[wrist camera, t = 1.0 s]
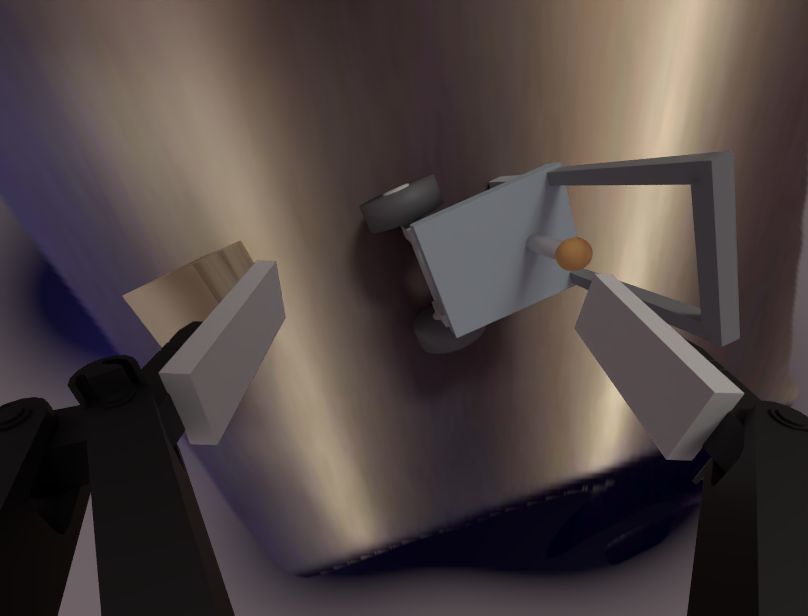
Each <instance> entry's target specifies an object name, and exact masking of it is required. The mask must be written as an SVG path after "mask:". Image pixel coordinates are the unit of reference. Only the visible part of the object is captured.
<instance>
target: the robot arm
mask: <svg viewBox="0 0 808 616" xmlns="http://www.w3.org/2000/svg"><path fill="white" fill-rule="evenodd" d="M284 319H285V311H284V305H283V299H282V294H281V288H280V282H279V276H278V270H277V264H276V261H256V262H255V263H254V265H253V266H252V267H251V268H250V269H249V270H248V271H247V273H246V274H245V275H244V276H243V277H242V278H241V279H240V281H239V282H238V283H237V284H236V285H235V286H234V287H233V289H232V290H231V291H230V292H229V293H228V294H227V295H226V297H225V298H224V299H223V300H222V301H221V302H220V303H219V304H218V306H217V307H216V308H215V309H214V310H213V311H212V312H211V314H210V315H209V316H208V317H207V318H206V319H205V320H204V321H193V322H191V323H190V324H188V325H186V326H185V327H183V328H181V329H180V330H178V332H177V333H176V334H175V335H174V336H173V337H172V338H171V339H170V340H169V342H167V343H166V344H165V345H164V346H163V347H162V348H161V351H159V352H158V353H157V354H156V355H155V356H154V357H153V358H152V359H151V360H150V361H149V362H148V363H147V364H146V365H145V366H144V367H143V368H142V369H141V368H140V366H139V364H138V362H137V361H136V360H135V359H134V357H130V356H127V355H116V356H110V357H106V358H102V359H99V360H97V361H94V362H92V363H89V364H87V365H86V366H84V367H83V368H81V369H79V370H78V371H77V372H76V373H75V374H74V375H73V376H72V377H71V378H70V380H69V383H68V387H69V388H70V390H71V391H72V393H73V394H74V396H75V397H76V399H77V401H78V402H79V403H80V405H78V406H73V407H68V408H63V409H57V410H53V409H52V407H51V406H50V405H49V403H48V402H47V401H46V400H45V399H43V398H37V397H32V398H24V399H19V400H16V401H13V402H10V403H7V404H4V405H2V406H1V407H0V616H58V612H59V608H60V605H61V601H62V597H63V593H64V590H65V586H66V582H67V578H68V575H69V571H70V567H71V564H72V560H73V556H74V552H75V549H76V545H77V541H78V537H79V534H80V530H81V526H82V522H83V518H84V515H85V511H86V508H87V504H88V500H89V496H90V493H91V498H92V510H93V522H94V534H95V544H96V557H97V569H98V581H99V592H100V604H101V616H235V615H234V612H233V609H232V606H231V603H230V600H229V597H228V594H227V591H226V588H225V585H224V582H223V578H222V576H221V572H220V570H219V566H218V564H217V560H216V557H215V554H214V551H213V548H212V545H211V542H210V539H209V536H208V533H207V530H206V527H205V524H204V521H203V518H202V515H201V512H200V509H199V506H198V503H197V500H196V497H195V494H194V491H193V488H192V485H191V482H190V479H189V476H188V473H187V470H186V467H185V464H184V461H183V458H182V455H181V452H180V449H179V447H178V445H177V442H178V440H179V439H180V437H181V436H182V434H183V433H184V431H185V433H186V435H187V437H188V440H189V442H190V444H201V445H218V443H219V441H220V439H221V437H222V435H223V433H224V432H225V430H226V428H227V426H228V424H229V422H230V420H231V419H232V417H233V415H234V413H235V411H236V409H237V407H238V405H239V404H240V402H241V400H242V398H243V396H244V394H245V392H246V390H247V389H248V387H249V385H250V383H251V381H252V379H253V377H254V375H255V374H256V372H257V370H258V368H259V366H260V364H261V362H262V360H263V359H264V357H265V355H266V353H267V351H268V349H269V347H270V346H271V344H272V342H273V340H274V338H275V336H276V334H277V332H278V331H279V329H280V327H281V325H282V323H283V321H284ZM575 330H576V331H577V333H578V334H579V335H580V337H581V338H582V340H583V341H584V343H585V344H586V345H587V347H588V348H589V350H590V351H591V353H592V354H593V355H594V357H595V358H596V360H597V361H598V363H599V364H600V365H601V367H602V368H603V370H604V371H605V373H606V374H607V375H608V377H609V378H610V380H611V381H612V383H613V384H614V385H615V387H616V388H617V390H618V391H619V393H620V394H621V395H622V397H623V398H624V400H625V401H626V403H627V404H628V405H629V407H630V408H631V410H632V411H633V413H634V414H635V415H636V417H637V418H638V420H639V421H640V423H641V424H642V425H643V427H644V428H645V430H646V431H647V433H648V434H649V435H650V437H651V438H652V440H653V441H654V443H655V444H656V445H657V447H658V448H659V450H660V451H661V453H662V454H663V455H664V457H665V458H666V460H693V458H694V457H695V456H696V455H697V453H698V452H699V451H700V450H701V448H702V447H704V449H705V450H706V451H707V452H708V453H709V455H710V456H711V457H712V458H711V459H710V460H709V461H708V462H707V464H706V465H705V466H704V467H703V468H702V470H701V471H700V472H699V473H698V474H697V476H696V477H695V478H694V480H693V482H694V483H695V484H698V482H699V481H700V480H704V481H703V489H702V497H701V505H700V514H699V522H698V530H697V538H696V546H695V554H694V563H693V571H692V579H691V587H690V595H689V603H688V611H687V612H688V613H687V616H808V417H807V416H806V415H804V414H802V413H801V412H799V411H797V410H795V409H793V408H791V407H788V406H786V405H783V404H780V403H776V402H771V401H761V400H760V399H759V398H758V397H757V396H756V395H755V394H753V393H752V392H751V391H750V390H749V389H748V388H747V387H745V386H744V385H743V384H742V383H741V382H740V381H739V380H738V379H736V378H735V377H734V376H733V375H732V374H731V373H730V372H728V371H727V370H724V367H723V366H722V365H720V364H719V363H718V362H717V361H714V358H712V357H711V356H710V355H709V354H708V353H707V352H706V351H705V350H703V349H702V348H701V347H699V346H697V345H696V344H694V343H692V342H690V341H689V340H687V339H685V338H683V337H681V336H680V335H679V334H678V333H677V332H676V331H675V330H674V329H673V328H671V327H670V326H669V325H668V324H667V323H666V322H665V321H664V320H663V319H661V318H660V317H659V316H658V315H657V314H656V313H655V312H654V311H653V310H651V309H650V308H649V307H648V306H647V305H646V304H645V303H644V302H643V301H641V300H640V299H639V298H638V297H637V296H636V295H635V294H634V293H633V292H632V291H630V290H629V289H628V288H627V287H626V286H625V285H624V284H623V283H622V282H620V281H619V280H618V279H617V278H616V277H615V276H614V275H608V274H594V277H593V279H592V282H591V285H590V288H589V290H588V293H587V296H586V298H585V301H584V304H583V306H582V309H581V312H580V315H579V317H578V320H577V323H576V325H575Z"/></svg>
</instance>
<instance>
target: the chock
mask: <svg viewBox="0 0 808 616" xmlns="http://www.w3.org/2000/svg"><path fill="white" fill-rule="evenodd" d="M253 265H254V262H253V261H252V259H251V257H250V255H249V254H248V252H247V250H246V249H245V247H244V245H243V244H242V242H241V241H238V242H236V243H234V244H232V245H229V246H227V247H225V248H222V249H220V250H218V251H216V252H213V253H211V254H209V255H207V256H204V257H202V258H200V259H197V260H195V261H193V262H191V263H189V264H187V265H185V266H183V267H180V268H178V269H176V270H174V271H172V272H170V273H168V274H166V275H164V276H162V277H160V278H158V279H156V280H154V281H152V282H150V283H148V284H145V285H143V286H141V287H139V288H137V289H135V290H133V291H131V292H129V293H127V294H125V295H123V298H124V299H125V300H126V302H127V303H128V304H129V306H130V307H131V308H132V309H133V311H134V312H135V313H136V315H137V316H138V317H139V318H140V320H141V321H142V322H143V324H144V325H145V326H146V328H147V329H148V330H149V331H150V333H151V334H152V335H153V337H154V338H155V339H156V341H157V342H158V343H159V344H160V346H161V347H163V346H164V345H165V344H166V343H167V342H169V340H170V339H171V338H172V337H173V336H174V335H175V334H176V333H177V332H178V330H180V329H181V328H183V327H185V326H186V325H188V324H190V323H191V322H193V321H204V320H205V319H206V318H207V317H208V316H209V315H210V314H211V312H212V311H213V310H214V309H215V308H216V307H217V306H218V304H219V303H220V302H221V301H222V300H223V299H224V298H225V297H226V295H227V294H228V293H229V292H230V291H231V290H232V289H233V287H234V286H235V285H236V284H237V283H238V282H239V281H240V279H241V278H242V277H243V276H244V275H245V274H246V273H247V271H248V270H249V269H250V268H251V267H252V266H253Z"/></svg>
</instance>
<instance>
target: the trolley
mask: <svg viewBox="0 0 808 616" xmlns="http://www.w3.org/2000/svg"><path fill="white" fill-rule="evenodd" d="M488 183H489V187H490V189H489V190H487V191H484V192H482V193H480V194H478V195H475V196H473V197H471V198H469V199H466V200H464V201H462V202H459V203H457V204H455V205H453V206H450V207H448V208H446V209H444V210H441V211H439V212H437V213H435V214H432V215H430V216H428V217H426V218H423V219H421V220H419V219H418V218H420V217H422V216H424V215H426V214H428V213H430V212H431V211H433V210H435V209H437V208H438V207H440V206H441V205H442V204H443V203H444V202H443V199H442V196H441V193H440V190H439V187H438V184H437V181H436V178H435V176H434V174H433V175H429V176H426V177H423V178H420V179H418V180H415V181H412V182H410V183H407V184H405V185H402V186H400V187H397V188H395V189H393V190H390V191H388V192H386V193H384V194H382V195H380V196H378V197H376V198H374V199H372V200H370V201H368V202H366V203H364V204H362V205H361V206H360V209H361V211H362V214H363V216H364V218H365V221H366V223H367V225H368V227H369V230H370V232H371V233H379V232H383V231H387V230H390V229H393V228H396V227H398V226H401V228H402V231H403V233H404V236H405V238H406V239H407V240H408V241H410V242H411V244H412V247H413V249H414V252H415V254H416V257H417V259H418V262H419V264H420V267H421V269H422V272H423V274H424V277H425V279H426V282H427V284H428V287H429V289H430V292H431V294H432V297H433V299H434V301H433V302H432V305H430V306H428V307H427V308H425V309H424V310H422V311H421V312H420V313H419V314H418V315H417V316H416V317H415V318H414V320H413V322H412V327H413V330H414V332H415V334H416V336H417V339H418V341H419V343H420V346H421V348H422V349H423V350H424V351H426V352H428V353H432V354H444V353H450V352H453V351H457V350H459V349H462V348H464V347H466V346H468V345H470V344H472V343H473V342H474V341H476V340H477V339H478V338H479V337H480V336H481V335H482V334H483V332H484V331H485V328H486V325H487V324H490V323H492V322H494V321H496V320H499V319H501V318H503V317H505V316H508V315H510V314H512V313H514V312H517V311H519V310H521V309H523V308H526V307H528V306H530V305H532V304H534V303H537V302H539V301H541V300H543V299H546V298H548V297H550V296H552V295H555V294H557V293H559V292H561V291H564V290H566V289H568V288H570V287H573V286H575V285H578V286H580V287H583V288H585V289H587V290H589V288H590V285H591V282H592V279H593V277H594V274H598V273H595V272H592V271H589V270H586V269H583V268H585V267H586V266H587V265H588V264H589V263H590V261H591V259H592V248H591V246H590V244H589V243H588V242H587V241H586V240H584V239H581V238H577V236H576V231H575V226H574V222H573V217H572V212H571V207H570V203H569V198H568V193H567V188H566V185H684V184H691V193H692V205H693V218H694V231H695V243H696V256H697V268H698V281H699V294H700V306H701V309H700V308H697V307H694V306H691V305H688V304H685V303H682V302H679V301H676V300H673V299H671V298H668V297H665V296H662V295H659V294H656V293H653V292H650V291H647V290H644V289H641V288H638V287H636V286H633V285H630V284H627V283H624V282H622V283H623V284H624V285H625V286H626V287H627V288H628V289H629V290H630V291H632V292H633V293H634V294H635V295H636V296H637V297H638V298H639V299H640V300H641V301H643V302H644V303H645V304H646V305H647V306H648V307H649V308H650V309H651V310H653V311H654V312H655V313H656V314H657V315H658V316H659V317H660V318H661V319H663V320H664V321H665V322H666V323H668V324H670V325H672V326H675V327H677V328H679V329H682V330H684V331H686V332H689V333H691V334H694V335H696V336H698V337H701V338H703V339H705V340H708V341H710V342H712V343H715V344H717V345H719V346H724V345H727V344H729V343H731V342H733V341H735V340H738V339H740V332H739V302H738V272H737V242H736V212H735V182H734V152H733V151H724V152H713V153H703V154H692V155H682V156H671V157H660V158H650V159H639V160H629V161H618V162H607V163H597V164H586V165H576V166H565V167H562V165H561V162H556V163H548V164H545V165H543V166H541V167H539V168H536V169H534V170H532V171H530V172H527V173H525V174H523V175H515V176H501V177H499V178H496V179H494V180H492V181H490V182H488ZM620 282H621V281H620Z"/></svg>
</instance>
